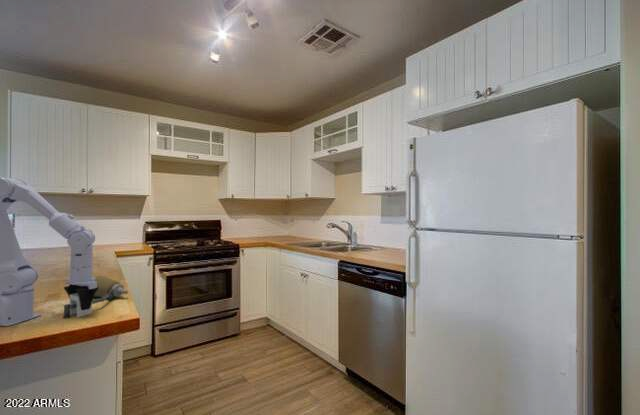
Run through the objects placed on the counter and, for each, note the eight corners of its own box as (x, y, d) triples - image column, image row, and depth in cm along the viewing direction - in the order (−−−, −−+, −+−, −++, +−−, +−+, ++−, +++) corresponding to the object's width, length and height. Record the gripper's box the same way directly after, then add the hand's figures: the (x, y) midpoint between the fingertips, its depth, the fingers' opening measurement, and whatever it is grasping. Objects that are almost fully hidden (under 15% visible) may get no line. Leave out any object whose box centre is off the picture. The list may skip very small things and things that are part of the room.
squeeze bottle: (96, 294, 124) (132, 302, 120) (77, 295, 117) (115, 304, 113) (101, 274, 126) (137, 281, 122) (83, 274, 118) (120, 281, 114)
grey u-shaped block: (77, 317, 97) (78, 296, 97) (69, 314, 99) (69, 294, 100) (91, 313, 101) (92, 293, 101) (83, 310, 103) (83, 291, 103)
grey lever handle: (73, 319, 95) (74, 306, 95) (57, 317, 96) (57, 305, 96) (124, 300, 115) (124, 290, 115) (110, 299, 116) (110, 289, 116)
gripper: (107, 266, 101) (106, 307, 101) (83, 263, 107) (82, 301, 107) (83, 270, 94) (82, 314, 94) (59, 266, 101) (58, 307, 101)
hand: (80, 308), depth 100 cm, fingers closed on grey u-shaped block, 5 cm apart
